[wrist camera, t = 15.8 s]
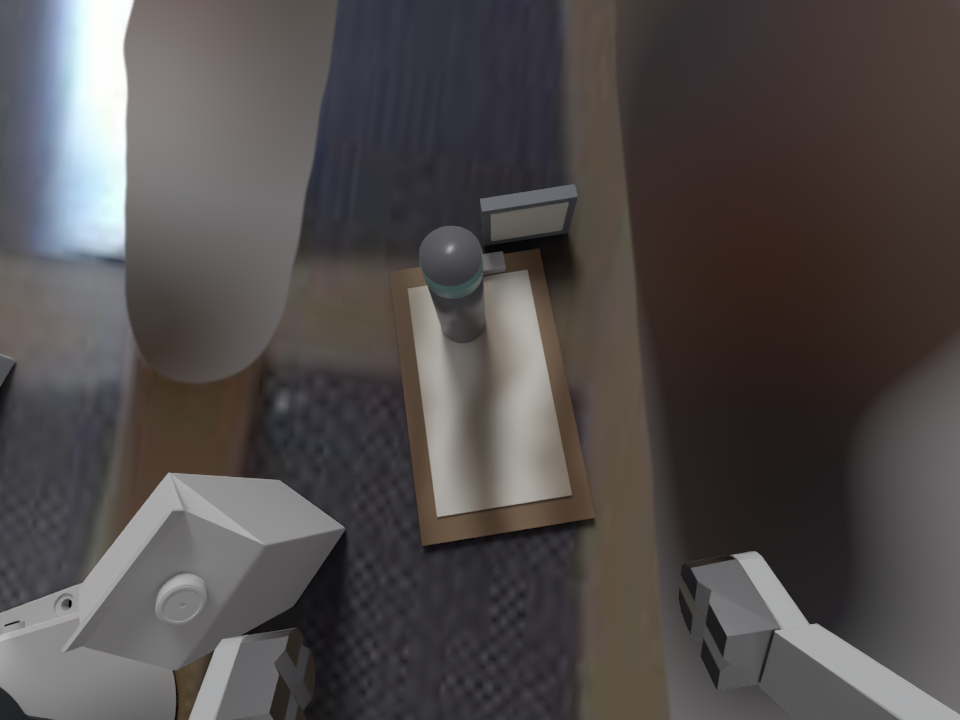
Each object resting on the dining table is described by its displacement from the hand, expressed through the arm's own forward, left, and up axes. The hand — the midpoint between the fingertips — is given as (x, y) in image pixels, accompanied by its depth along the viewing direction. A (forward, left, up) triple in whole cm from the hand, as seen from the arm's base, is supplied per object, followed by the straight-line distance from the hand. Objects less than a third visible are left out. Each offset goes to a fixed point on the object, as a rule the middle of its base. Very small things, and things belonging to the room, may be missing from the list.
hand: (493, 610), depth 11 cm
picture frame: (+7, +25, -31) cm, 41 cm away
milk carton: (-17, +1, -32) cm, 36 cm away
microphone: (0, +17, -30) cm, 35 cm away
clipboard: (+1, +11, -31) cm, 33 cm away
